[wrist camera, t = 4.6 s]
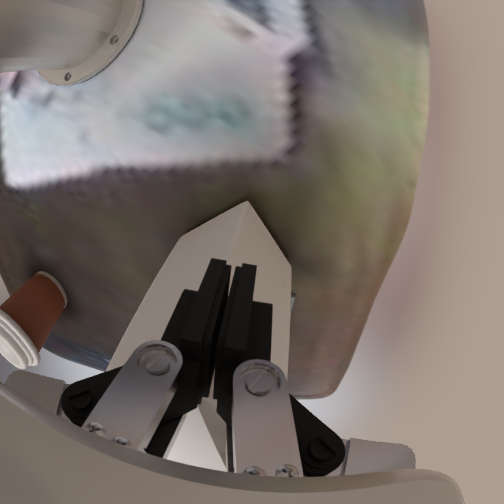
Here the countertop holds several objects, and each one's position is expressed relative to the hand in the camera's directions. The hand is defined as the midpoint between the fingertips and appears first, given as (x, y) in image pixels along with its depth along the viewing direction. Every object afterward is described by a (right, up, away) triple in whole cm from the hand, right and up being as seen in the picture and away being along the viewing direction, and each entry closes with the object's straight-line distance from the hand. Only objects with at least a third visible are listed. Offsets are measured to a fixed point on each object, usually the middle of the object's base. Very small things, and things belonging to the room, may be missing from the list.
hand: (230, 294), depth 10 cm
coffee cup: (-27, -4, +20) cm, 34 cm away
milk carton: (-1, +2, +13) cm, 13 cm away
